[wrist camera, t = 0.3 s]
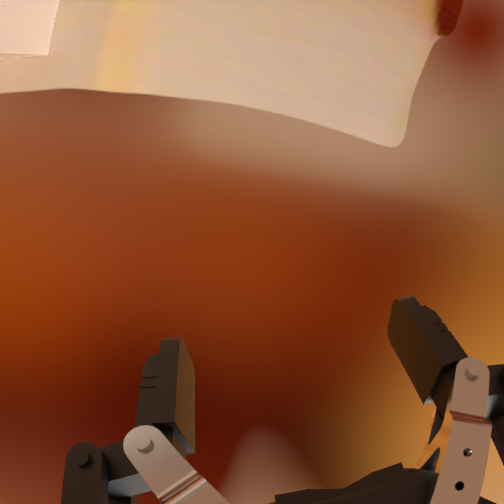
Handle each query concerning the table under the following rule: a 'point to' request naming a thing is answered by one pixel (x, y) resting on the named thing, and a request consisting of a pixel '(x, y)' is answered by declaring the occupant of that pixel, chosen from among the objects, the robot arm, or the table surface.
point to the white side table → (26, 27)
